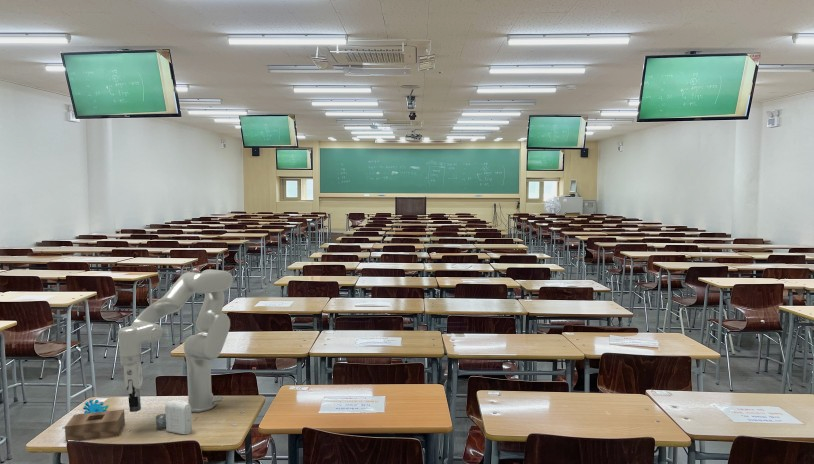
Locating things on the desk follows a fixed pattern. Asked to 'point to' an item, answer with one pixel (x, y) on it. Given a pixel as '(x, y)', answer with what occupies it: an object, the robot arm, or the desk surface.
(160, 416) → the short pin
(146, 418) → the desk surface
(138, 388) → the robot arm
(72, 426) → the hole block
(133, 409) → the long pin
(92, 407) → the gear
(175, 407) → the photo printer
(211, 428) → the desk surface
